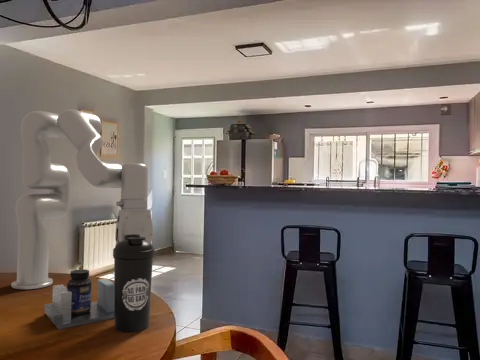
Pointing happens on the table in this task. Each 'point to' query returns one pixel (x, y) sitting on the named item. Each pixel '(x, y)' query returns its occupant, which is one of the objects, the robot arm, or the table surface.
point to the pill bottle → (80, 291)
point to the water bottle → (132, 283)
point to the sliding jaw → (105, 294)
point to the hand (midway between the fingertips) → (133, 267)
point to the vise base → (78, 318)
